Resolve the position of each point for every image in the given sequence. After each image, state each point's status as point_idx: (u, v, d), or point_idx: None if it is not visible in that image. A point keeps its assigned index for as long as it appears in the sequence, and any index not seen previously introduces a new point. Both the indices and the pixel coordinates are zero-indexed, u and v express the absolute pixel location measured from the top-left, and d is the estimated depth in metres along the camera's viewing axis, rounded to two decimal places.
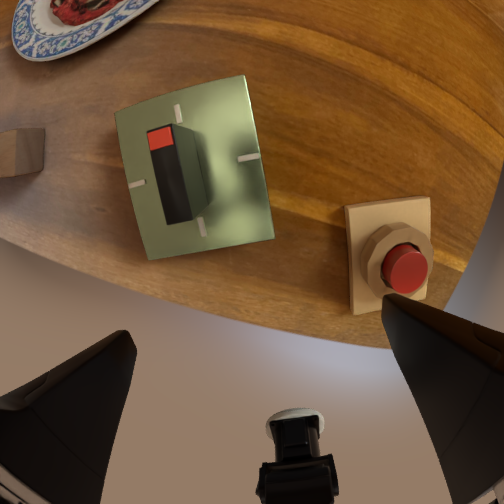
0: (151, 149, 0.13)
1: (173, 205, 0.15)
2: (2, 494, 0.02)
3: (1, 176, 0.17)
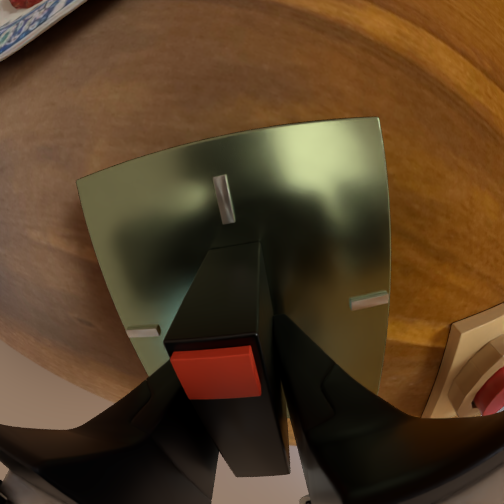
0: (191, 395, 0.04)
1: (252, 463, 0.06)
2: (2, 494, 0.02)
3: None
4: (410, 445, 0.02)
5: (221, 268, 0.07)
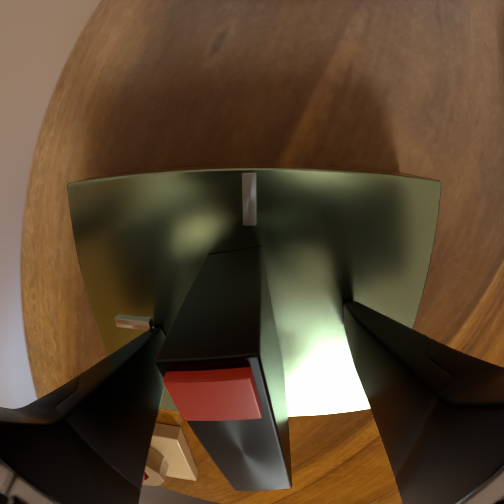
0: (187, 416, 0.04)
1: (252, 479, 0.05)
2: (2, 494, 0.02)
3: None
4: None
5: (219, 276, 0.06)
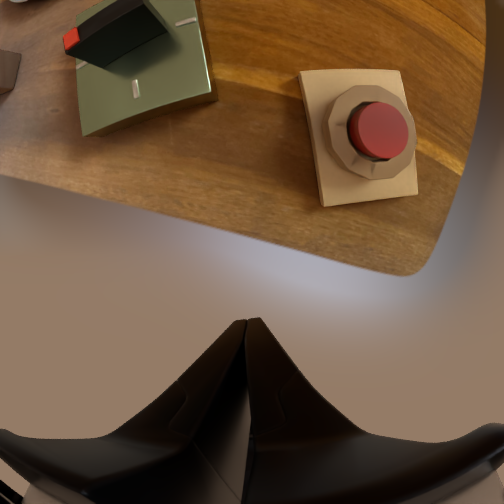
0: (77, 40, 0.10)
1: (124, 5, 0.09)
2: (2, 494, 0.02)
3: None
4: (341, 465, 0.02)
5: None
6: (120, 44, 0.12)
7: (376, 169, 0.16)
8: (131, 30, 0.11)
